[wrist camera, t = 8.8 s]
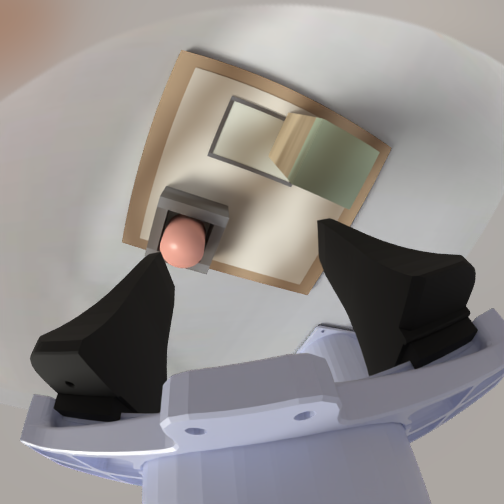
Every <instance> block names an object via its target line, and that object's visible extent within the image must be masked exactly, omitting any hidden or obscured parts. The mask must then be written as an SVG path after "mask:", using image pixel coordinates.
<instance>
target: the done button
mask: <svg viewBox="0 0 504 504" xmlns="http://www.w3.org/2000/svg"><path fill="white" fill-rule="evenodd" d="M205 235H206V230H205V226H204V223H203V222H202V221H201V220H198V219H195V218H192V217H189V216H186V215H183V214H177V215H175V216H174V217H172V218H171V219H170V220H169V222H168V224H167V227H166V229H165V232H164V234H163V237H162V240H161V243H160V252H161V253H162V256H163V258H164V259H165V261H166V262H168V263H169V264H170V265H172V266H175V267H178V268H188V267H192V266H194V265H196V264H197V263H198V262H199V261H200V260H201V259H202V257H203V254H204V246H205Z"/></svg>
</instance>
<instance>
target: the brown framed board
mask: <svg viewBox="0 0 504 504" xmlns="http://www.w3.org/2000/svg"><path fill="white" fill-rule="evenodd" d="M288 112H289V113H295V114H301V115H306V116H312V117H317V118H322V119H325V120H327V121H329V122H330V123H332V124H334V125H336V126H338V127H339V128H341V129H343V130H345V131H346V132H348V133H350V134H351V135H353V136H355V137H356V138H358V139H360V140H361V141H363V142H365V143H366V144H368V145H369V146H371V147H373V148H374V149H376V150H377V151H379V152H380V153H379V155H378V157H377V159H376V161H375V163H374V165H373V167H372V169H371V171H370V173H369V174H368V176H367V178H366V180H365V182H364V184H363V186H362V188H361V190H360V192H359V193H358V195H357V197H356V199H355V201H354V203H353V204H352V206H351V208H350V210H348V209H346V208H344V207H342V206H340V205H338V204H336V203H333V202H331V201H329V200H327V199H325V198H322V197H320V196H318V195H316V194H313V193H311V192H309V191H306V190H304V189H302V188H299V187H297V186H295V185H292V184H291V183H290V181H289V180H288V179H287V178H286V177H285V175H284V174H283V173H282V172H281V171H280V170H279V168H278V167H277V166H276V165H275V164H274V162H273V161H272V160H271V159H270V158H269V157H268V156H269V153H270V151H271V149H272V147H273V145H274V143H275V140H276V138H277V136H278V134H279V132H280V130H281V127H282V125H283V123H284V121H285V119H286V117H287V115H288ZM390 150H391V147H389V146H388V145H387V144H385V143H384V142H382V141H381V140H379V139H378V138H376V137H375V136H373V135H372V134H370V133H369V132H367V131H366V130H364V129H362V128H361V127H359V126H358V125H356V124H354V123H353V122H351V121H349V120H348V119H346V118H344V117H343V116H341V115H339V114H337V113H336V112H334V111H332V110H330V109H329V108H327V107H325V106H323V105H321V104H319V103H317V102H315V101H314V100H312V99H310V98H308V97H306V96H304V95H302V94H300V93H298V92H295V91H293V90H291V89H289V88H287V87H285V86H282V85H280V84H278V83H276V82H273V81H271V80H269V79H266V78H264V77H262V76H259V75H257V74H254V73H251V72H249V71H246V70H244V69H241V68H238V67H235V66H233V65H230V64H227V63H224V62H221V61H218V60H215V59H211V58H208V57H205V56H201V55H198V54H194V53H191V52H187V51H183V50H181V52H180V54H179V57H178V59H177V61H176V63H175V65H174V68H173V70H172V72H171V75H170V77H169V80H168V82H167V84H166V87H165V89H164V92H163V95H162V97H161V100H160V102H159V105H158V108H157V111H156V113H155V116H154V119H153V122H152V125H151V128H150V131H149V134H148V137H147V140H146V144H145V147H144V150H143V154H142V157H141V160H140V164H139V168H138V171H137V175H136V179H135V183H134V187H133V191H132V195H131V200H130V204H129V209H128V213H127V218H126V223H125V228H124V234H123V239H122V243H126V244H129V245H132V246H135V247H138V248H142V249H145V250H146V253H145V256H147V255H148V254H152V253H156V252H160V243H161V240H162V237H163V234H164V232H165V229H166V227H167V224H168V222H169V220H170V219H171V218H172V217H174V216H175V215H177V214H183V215H186V216H189V217H192V218H195V219H198V220H201V221H202V222H203V223H204V226H205V230H206V235H205V246H204V254H203V257H202V259H201V260H200V261H199V262H198V263H197V264H196V265H194V266H192V267H188V268H186V269H190V270H193V271H196V272H200V273H204V274H207V272H208V270H209V269H213V270H216V271H220V272H223V273H227V274H230V275H234V276H238V277H241V278H245V279H248V280H252V281H256V282H259V283H263V284H267V285H271V286H274V287H278V288H282V289H286V290H290V291H293V292H297V293H301V294H305V295H308V294H309V292H310V290H311V289H312V287H313V286H314V284H315V283H316V281H317V280H318V278H319V276H320V275H321V273H322V272H323V268H322V265H321V263H320V260H319V252H318V229H317V220H322V219H327V218H331V219H334V220H336V221H338V222H341V223H343V224H345V225H347V226H349V227H350V225H351V224H352V222H353V220H354V218H355V216H356V215H357V213H358V211H359V209H360V208H361V206H362V204H363V202H364V200H365V199H366V197H367V195H368V193H369V191H370V189H371V187H372V186H373V184H374V182H375V180H376V178H377V176H378V174H379V172H380V170H381V168H382V166H383V164H384V162H385V160H386V158H387V156H388V154H389V152H390ZM164 261H165V259H164ZM165 262H166V261H165ZM166 263H168V262H166Z"/></svg>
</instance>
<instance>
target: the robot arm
mask: <svg viewBox="0 0 504 504" xmlns="http://www.w3.org/2000/svg"><path fill="white" fill-rule="evenodd" d="M317 229H318V252H319V260H320V263H321V265H322V268H323V270H324V273H325V275H326V277H327V278H328V280H329V282H330V284H331V285H332V287H333V289H334V291H335V292H336V294H337V296H338V298H339V299H340V301H341V303H342V305H343V306H344V308H345V310H346V312H347V314H348V316H349V319H350V321H351V324H352V326H353V329H354V331H355V332H354V331H348V330H343V329H337V328H331V327H326V326H317V327H316V328H315V329H314V331H313V332H312V333H311V335H310V336H309V337H308V338H307V340H306V341H305V342H304V344H303V345H302V346H301V347H300V349H299V350H298V351H297V352H296V353H295V354H286V355H281V356H277V357H272V358H267V359H261V360H256V361H250V362H244V363H238V364H232V365H225V366H219V367H211V368H203V369H195V370H189V371H186V372H182V373H178V374H175V375H172V376H171V377H170V378H169V379H168V380H167V345H168V338H169V332H170V326H171V320H172V314H173V308H174V295H175V286H174V284H173V281H172V279H171V276H170V274H169V271H168V269H167V266H166V264H165V261H164V258H163V256H162V253H161V252H156V253H152V254H148V255H147V256H146V257H145V258H144V259H143V260H141V261H140V262H139V263H138V264H137V265H136V266H135V267H134V268H133V269H132V271H131V272H130V273H129V274H128V275H127V276H126V277H125V278H124V279H123V280H122V281H121V282H120V283H118V284H117V285H116V286H115V287H114V288H113V289H112V290H111V291H110V292H109V293H108V294H107V295H106V296H105V297H103V298H102V299H101V300H100V301H98V302H97V303H96V304H95V305H93V306H92V307H91V308H89V309H88V310H86V311H85V312H83V313H82V314H81V315H79V316H78V317H76V318H74V319H73V320H71V321H70V322H68V323H66V324H64V325H63V326H61V327H59V328H57V329H55V330H53V331H51V332H48V333H46V334H44V335H42V336H40V337H39V339H38V341H37V343H36V345H35V347H34V349H33V352H32V354H31V357H30V360H31V364H32V366H33V368H34V369H35V371H36V372H37V373H38V374H39V376H40V377H41V378H42V379H43V380H44V381H45V382H46V383H47V384H48V385H49V386H50V387H52V388H53V389H54V390H55V391H56V392H57V393H58V395H57V398H56V399H54V398H52V397H50V396H44V395H38V394H34V395H33V398H32V401H31V404H30V407H29V410H28V413H27V417H26V420H25V424H24V427H23V431H22V435H21V438H20V440H21V442H22V443H24V444H25V445H26V446H28V447H30V448H31V449H33V450H34V451H36V452H38V453H39V454H41V455H43V456H44V457H46V458H48V459H50V460H51V461H53V462H55V463H57V464H59V465H61V466H64V467H67V468H71V469H74V470H77V471H80V472H84V473H88V474H91V475H95V476H98V477H102V478H106V479H110V480H115V481H118V482H123V483H128V484H133V485H138V486H142V504H431V501H430V498H429V495H428V492H427V489H426V486H425V483H424V480H423V478H422V475H421V472H420V469H419V467H418V464H417V461H416V459H415V456H414V453H413V451H412V448H411V446H410V443H411V442H413V441H415V440H417V439H419V438H420V437H422V436H424V435H426V434H427V433H429V432H431V431H432V430H434V429H436V428H437V427H439V426H441V425H442V424H444V423H445V422H447V421H448V420H450V419H451V418H453V417H454V416H456V415H457V414H459V413H460V412H461V411H463V410H464V409H466V408H467V407H469V406H470V405H471V404H473V403H474V402H476V401H477V400H478V399H479V398H481V397H482V396H484V395H485V394H486V393H487V392H489V391H490V390H491V389H492V388H494V387H495V386H496V385H497V384H498V383H499V382H500V381H501V379H502V378H503V377H504V320H503V319H502V318H501V316H500V315H499V314H498V313H497V312H496V311H495V309H494V308H491V309H490V310H488V311H486V312H485V313H483V314H481V315H479V316H478V317H476V318H475V319H474V321H473V322H471V320H470V319H469V318H468V316H469V315H470V311H469V310H468V308H467V307H466V304H467V302H468V300H469V297H470V294H471V292H472V289H473V287H474V283H475V274H476V273H475V269H474V267H473V266H472V265H471V264H470V263H469V262H468V261H467V260H466V259H465V258H464V257H463V256H462V255H451V254H437V253H430V252H423V251H418V250H413V249H409V248H404V247H401V246H397V245H394V244H391V243H388V242H385V241H382V240H379V239H377V238H374V237H372V236H369V235H367V234H365V233H362V232H360V231H358V230H356V229H353V228H351V227H349V226H347V225H345V224H343V223H341V222H338V221H336V220H334V219H331V218H327V219H322V220H317Z"/></svg>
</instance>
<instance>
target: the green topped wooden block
mask: <svg viewBox="0 0 504 504" xmlns="http://www.w3.org/2000/svg"><path fill="white" fill-rule="evenodd" d="M379 153H380V152H379V151H377V150H376V149H374V148H373V147H371V146H369V145H368V144H366V143H365V142H363V141H361V140H360V139H358V138H356V137H355V136H353V135H351V134H350V133H348V132H346V131H345V130H343V129H341V128H339V127H338V126H336V125H334V124H332V123H330V122H329V121H327V120H325V119H322V118H317V117H312V116H306V115H301V114H295V113H289V112H288V115H287V117H286V119H285V121H284V123H283V125H282V127H281V130H280V132H279V134H278V136H277V138H276V140H275V143H274V145H273V147H272V149H271V151H270V153H269V156H268V157H269V158H270V159H271V160H272V161H273V162H274V164H275V165H276V166H277V167H278V168H279V170H280V171H281V172H282V173H283V174H284V175H285V177H286V178H287V179H288V180H289V181H290V183H291V184H292V185H295V186H297V187H299V188H302V189H304V190H306V191H309V192H311V193H313V194H316V195H318V196H320V197H322V198H325V199H327V200H329V201H331V202H333V203H336V204H338V205H340V206H342V207H344V208H346V209H348V210H350V208H351V206H352V204H353V203H354V201H355V199H356V197H357V195H358V193H359V192H360V190H361V188H362V186H363V184H364V182H365V180H366V178H367V176H368V174H369V173H370V171H371V169H372V167H373V165H374V163H375V161H376V159H377V157H378V155H379Z"/></svg>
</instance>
